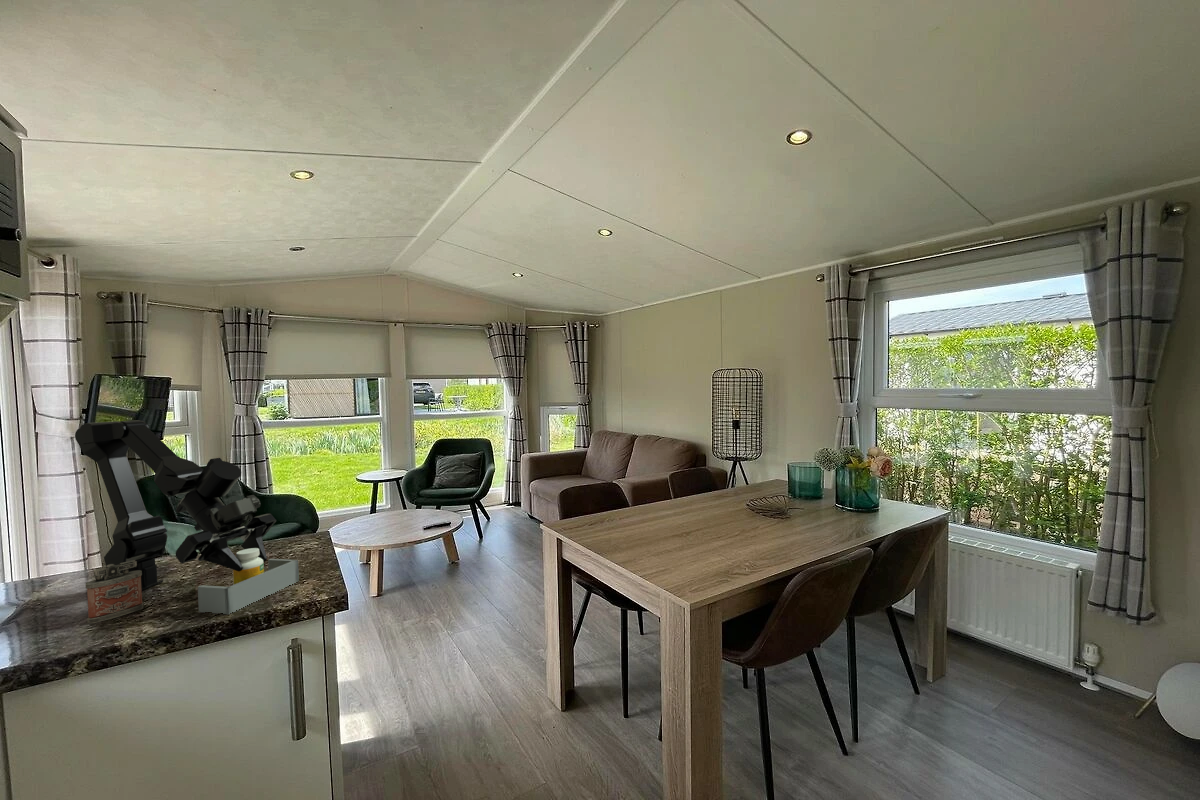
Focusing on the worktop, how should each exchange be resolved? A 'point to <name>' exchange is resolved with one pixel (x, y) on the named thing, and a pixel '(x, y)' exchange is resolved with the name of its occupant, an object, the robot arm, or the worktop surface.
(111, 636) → the worktop surface
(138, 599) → the lighter
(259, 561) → the supplement bottle
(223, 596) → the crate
